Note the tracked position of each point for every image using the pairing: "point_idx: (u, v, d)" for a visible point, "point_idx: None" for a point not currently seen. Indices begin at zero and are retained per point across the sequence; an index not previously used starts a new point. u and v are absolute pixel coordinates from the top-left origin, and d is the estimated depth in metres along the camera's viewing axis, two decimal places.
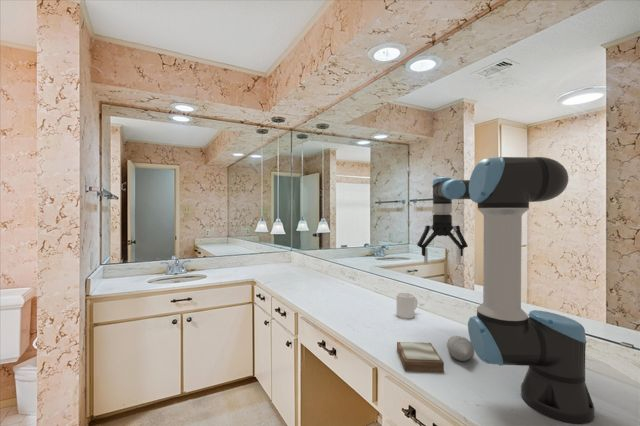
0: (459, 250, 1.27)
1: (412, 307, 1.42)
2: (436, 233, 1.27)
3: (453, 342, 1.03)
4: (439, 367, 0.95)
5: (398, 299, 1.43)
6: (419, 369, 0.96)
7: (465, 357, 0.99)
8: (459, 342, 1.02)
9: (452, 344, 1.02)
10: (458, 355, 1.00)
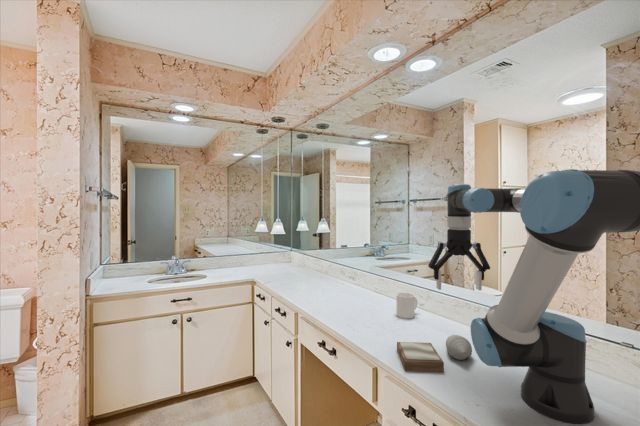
0: (480, 273, 1.04)
1: (412, 307, 1.42)
2: (452, 252, 1.05)
3: (451, 341, 1.04)
4: (439, 367, 0.95)
5: (398, 299, 1.43)
6: (419, 369, 0.96)
7: (462, 356, 1.00)
8: (457, 341, 1.02)
9: (450, 343, 1.03)
10: (455, 353, 1.01)
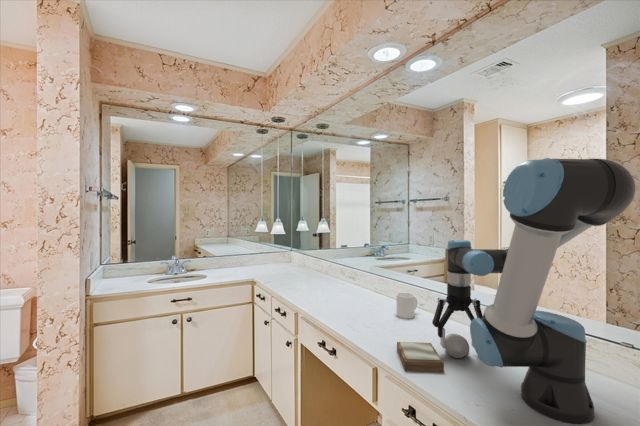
0: None
1: (412, 307, 1.42)
2: (453, 309, 1.05)
3: (448, 339, 1.05)
4: (439, 367, 0.95)
5: (398, 299, 1.43)
6: (419, 369, 0.96)
7: (459, 354, 1.01)
8: (454, 339, 1.04)
9: (447, 341, 1.05)
10: (452, 352, 1.02)
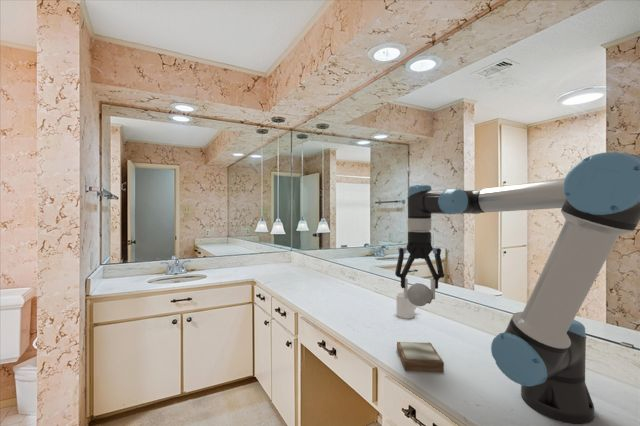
0: (433, 281, 1.01)
1: (412, 307, 1.42)
2: (413, 256, 1.01)
3: (411, 288, 1.01)
4: (439, 367, 0.95)
5: (398, 299, 1.43)
6: (419, 369, 0.96)
7: (421, 301, 0.97)
8: (416, 287, 1.00)
9: (409, 290, 1.01)
10: (414, 299, 0.98)
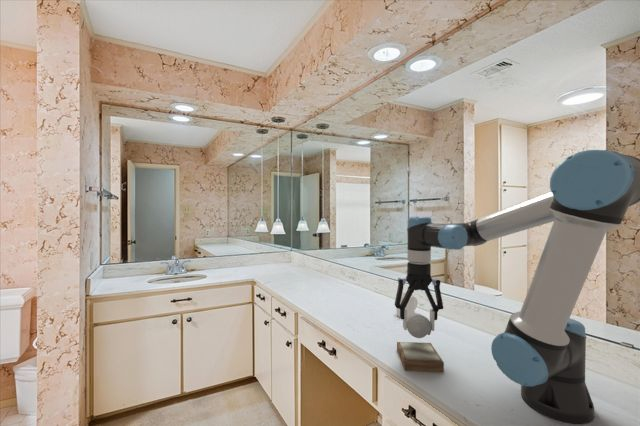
0: (433, 313, 1.01)
1: (412, 307, 1.42)
2: (412, 288, 1.01)
3: (410, 319, 1.01)
4: (439, 367, 0.95)
5: None
6: (419, 369, 0.96)
7: (420, 334, 0.97)
8: (416, 319, 1.00)
9: (409, 321, 1.01)
10: (413, 332, 0.98)
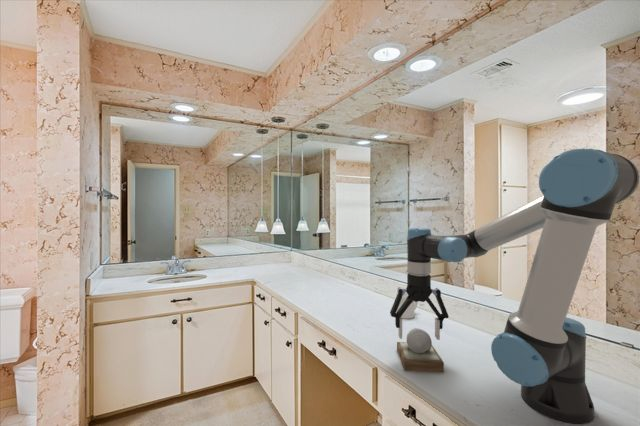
0: (438, 322, 1.01)
1: (412, 307, 1.42)
2: (411, 299, 1.01)
3: (410, 334, 1.01)
4: (439, 367, 0.95)
5: None
6: (419, 369, 0.96)
7: (421, 349, 0.97)
8: (416, 334, 1.00)
9: (409, 336, 1.01)
10: (414, 347, 0.98)
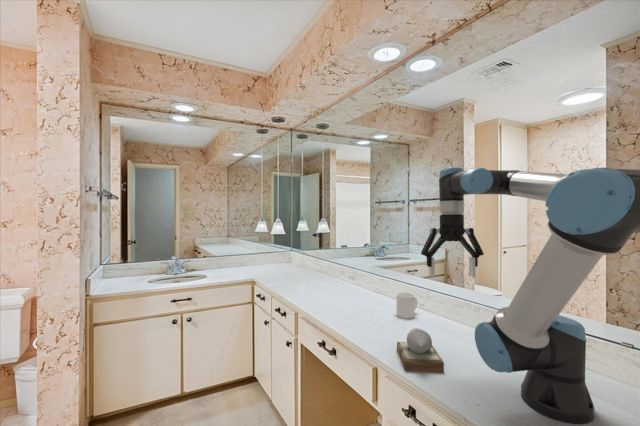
0: (473, 259, 1.01)
1: (412, 307, 1.42)
2: (445, 238, 1.01)
3: (411, 334, 1.01)
4: (439, 367, 0.95)
5: (398, 299, 1.43)
6: (419, 369, 0.96)
7: (421, 349, 0.97)
8: (416, 334, 1.00)
9: (409, 336, 1.00)
10: (414, 347, 0.98)
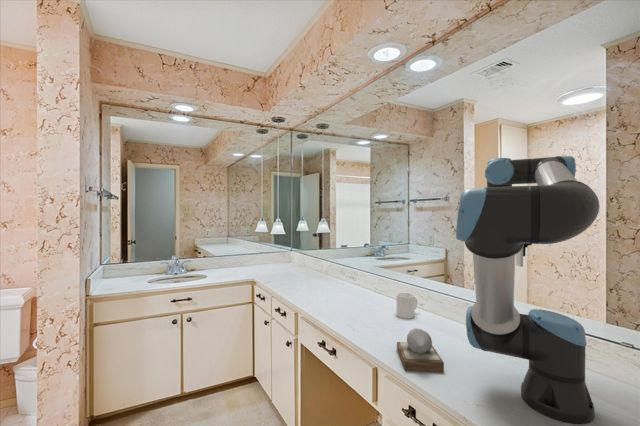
0: (521, 249, 1.02)
1: (412, 307, 1.42)
2: None
3: (411, 334, 1.01)
4: (439, 367, 0.95)
5: (398, 299, 1.43)
6: (419, 369, 0.96)
7: (421, 349, 0.97)
8: (417, 334, 1.00)
9: (410, 336, 1.00)
10: (414, 347, 0.98)
